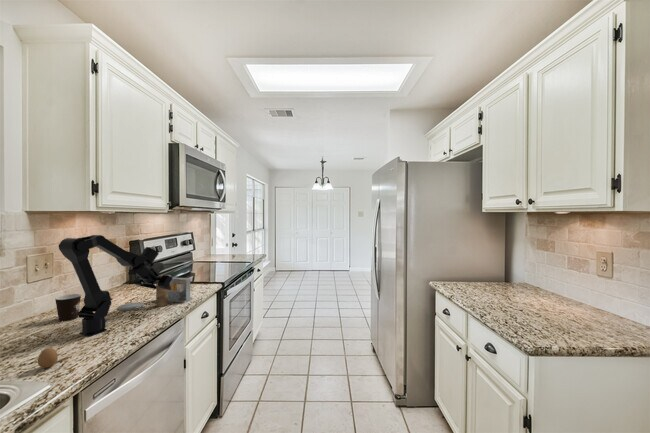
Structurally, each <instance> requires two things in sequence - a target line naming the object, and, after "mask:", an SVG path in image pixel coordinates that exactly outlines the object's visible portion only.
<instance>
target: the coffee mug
mask: <svg viewBox="0 0 650 433" xmlns="http://www.w3.org/2000/svg"><path fill="white" fill-rule="evenodd" d="M81 298H82V295H81V294H80V293H71V294H65V295H61V296H60V295H59V296H57V297H55V298H54V299H55V307H56V311H57V318H58V321H59V322H61V321H63V322H69V321H74V320H76V319H78V318H79V316H78V312H79V311H80V305H81V300H82V299H81Z"/></svg>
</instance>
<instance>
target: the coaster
mask: <svg viewBox="0 0 650 433" xmlns="http://www.w3.org/2000/svg"><path fill="white" fill-rule="evenodd" d="M143 307H145V303H144V302H137V301H136V302H130V303H129V302H128V303H124V304H121V305H120V306H118V307H117V310H118V311H122V312H124V311H134V310H137V309H141V308H143Z"/></svg>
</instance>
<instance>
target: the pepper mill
mask: <svg viewBox="0 0 650 433" xmlns="http://www.w3.org/2000/svg"><path fill="white" fill-rule="evenodd" d="M163 275H164V274H160V275H159V276H158V277H162V276H163ZM155 286H156V289H155V298H156V299H155V305H156V308H164V307H167V306H169V301H168V290H166V289H163V288H160V287H159V286H158V282H157V283H156V284H155Z"/></svg>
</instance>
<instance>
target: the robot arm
mask: <svg viewBox="0 0 650 433" xmlns="http://www.w3.org/2000/svg"><path fill="white" fill-rule="evenodd" d="M95 247H96V248H98V249H99V250H100V251H101V250H102V251H103V252H105V253H106V254H108V255H109V256H111V257H113V258H115V260H116V261H117V262H118V263H119V264H120V265H121V266H122V267H127V268H129V269H128V272H127V274H128V275H129V276H135V275H137V277H136V278H135V279H134V282H133V284H134V285H135V286H136V287H137V286H139V287H142V288H147V289H153V290H156V284H155V283H156V282H157V283H158V286H159V287H160V288H163V289H166V290H171V286H170V282H171V280H172V279H173V277H174V276H172V275H171V274H162V275H163V276H162V277H159V276H160V275H161V272H162V271H164V270H165V269H166V267H165V265H164V262H154V261H155V260H156V259H157V257H158V256H159V254H160V253H159V252H158V250H155V249H153V248H151V247H148V246H146V247H145V248H144V249H143V251H142V252H141V253H140V254H138V253H135V252H132V251H129V250H125V249H124V248H122V247H121V246H119V245H117V244H116V243H114V242H112V241H111V240H110V239H108V238H106V236H104V235H101V234H92V235H89V236H88V235H87V236H81V237H76V238H75V237H73V238H72V237H66V238H64V239H62V240H61V241H60V242H59V244H58V250H59V251H60V253H61V254H62V255H63V256H64V258H66V259H67V260H68V261H69V262H70V263H71V265H72V266H73V269H74V271H75V274H76V276H77V278H78V281H79V282H80V285H81V287H82V290H83V293H84V298H83V304H84V305H83V306H82V307H81V309H79V312H78V318H79V319H81V331H80V332H79V335H82V336H85V337H91V336H94V335H98V334H100V333H103V332H106V331H107V330H108V329H107V328H106V323H107V320H106V317H108V315H109V311H110V307H111V306H112V301H113V298H112V297H111V294H110V292H109V290H102V289H101V287H100V285H99V283H98V280H97V278H96V275H95V272H94V270H93V268H92V264H91V263H90V260H89V255H90V249H94V248H95Z"/></svg>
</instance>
